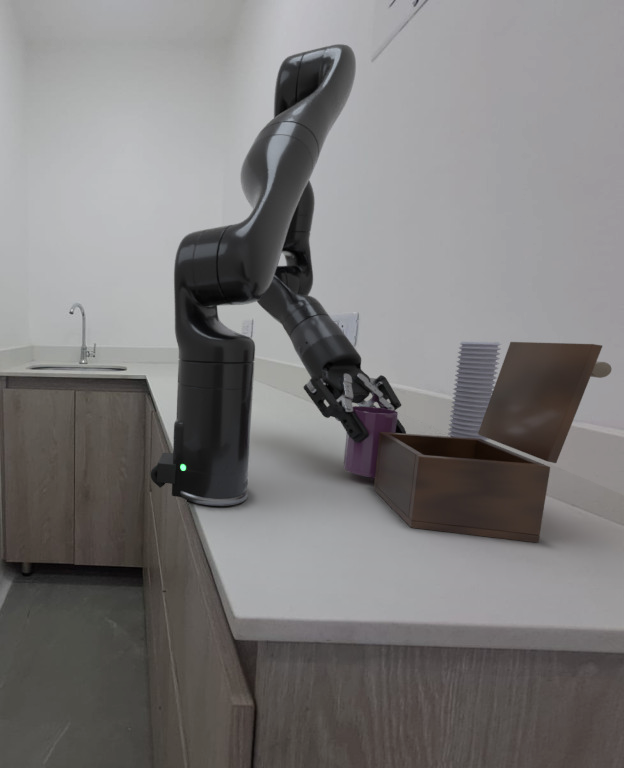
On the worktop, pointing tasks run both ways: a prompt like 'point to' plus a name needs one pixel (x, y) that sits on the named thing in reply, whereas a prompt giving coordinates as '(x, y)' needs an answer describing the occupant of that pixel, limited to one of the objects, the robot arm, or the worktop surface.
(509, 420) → the lid
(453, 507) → the chest
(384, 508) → the worktop surface
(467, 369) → the screw
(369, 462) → the cup
